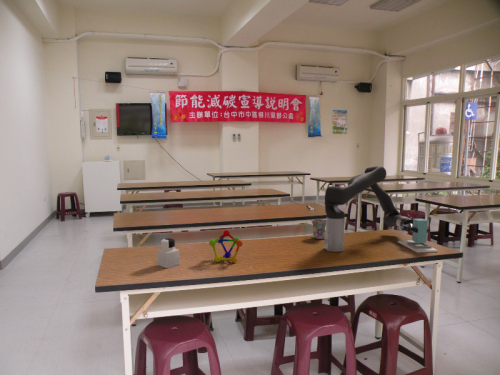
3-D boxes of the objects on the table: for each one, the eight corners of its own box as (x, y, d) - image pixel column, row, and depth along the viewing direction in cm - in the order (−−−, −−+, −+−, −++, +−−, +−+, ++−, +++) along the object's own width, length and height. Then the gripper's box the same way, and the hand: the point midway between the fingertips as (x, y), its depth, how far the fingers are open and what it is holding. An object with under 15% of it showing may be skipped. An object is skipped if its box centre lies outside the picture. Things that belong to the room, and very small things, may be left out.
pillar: (417, 243, 183) (418, 220, 182) (412, 240, 188) (413, 218, 187) (426, 242, 184) (427, 220, 182) (421, 240, 189) (422, 218, 187)
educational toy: (238, 257, 174) (241, 227, 172) (241, 265, 161) (244, 234, 159) (207, 255, 172) (210, 225, 170) (207, 263, 159) (210, 231, 157)
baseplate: (417, 252, 178) (417, 248, 178) (397, 242, 198) (398, 238, 198) (437, 252, 179) (438, 248, 178) (416, 241, 199) (416, 238, 198)
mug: (329, 239, 205) (330, 221, 204) (315, 240, 202) (316, 222, 201) (319, 234, 216) (319, 217, 215) (306, 235, 213) (306, 218, 212)
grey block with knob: (169, 261, 164) (169, 236, 162) (179, 264, 159) (179, 239, 158) (157, 265, 158) (156, 239, 157) (167, 268, 154) (166, 242, 152)
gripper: (394, 217, 199) (409, 224, 182) (418, 217, 200) (436, 223, 183) (393, 230, 199) (409, 238, 183) (417, 230, 200) (435, 237, 184)
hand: (422, 230), depth 183 cm, fingers closed on pillar, 5 cm apart
